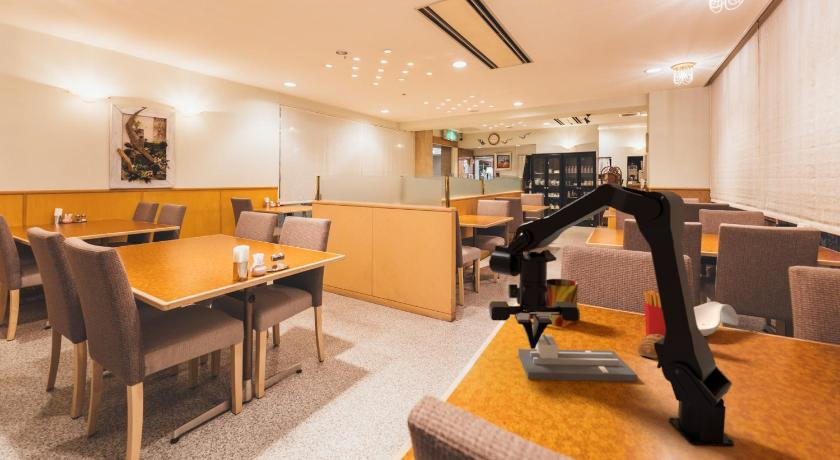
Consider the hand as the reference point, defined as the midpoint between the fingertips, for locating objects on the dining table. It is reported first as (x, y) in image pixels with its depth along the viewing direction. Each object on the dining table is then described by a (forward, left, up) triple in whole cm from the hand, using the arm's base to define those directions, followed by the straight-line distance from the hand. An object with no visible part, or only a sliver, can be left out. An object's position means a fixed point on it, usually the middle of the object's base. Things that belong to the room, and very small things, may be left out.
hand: (532, 348), depth 87 cm
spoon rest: (+26, -52, -5) cm, 59 cm away
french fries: (+16, -36, -5) cm, 40 cm away
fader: (0, -3, -3) cm, 4 cm away
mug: (+30, -13, -5) cm, 33 cm away
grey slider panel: (0, -9, -4) cm, 10 cm away
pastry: (+10, -31, -5) cm, 33 cm away
